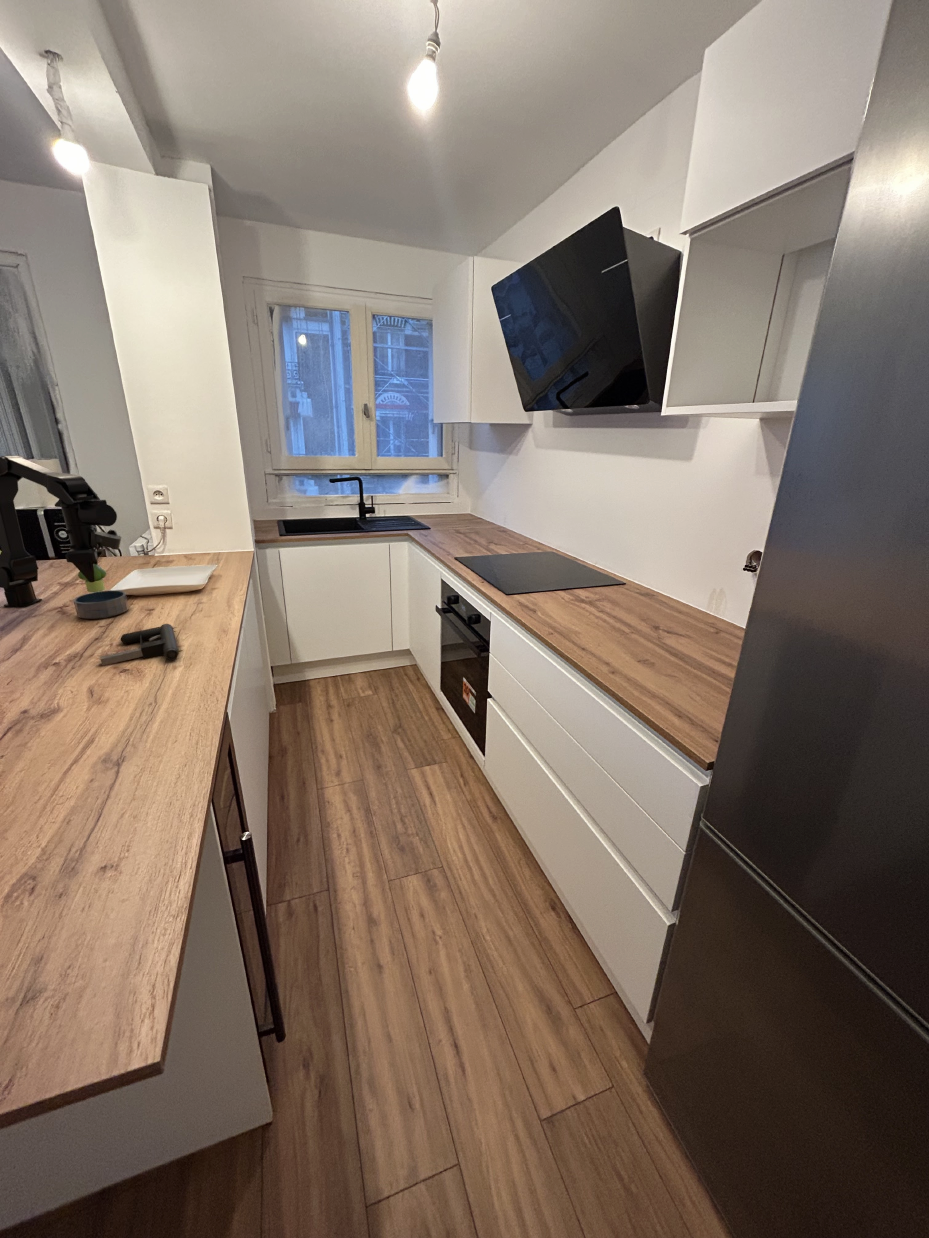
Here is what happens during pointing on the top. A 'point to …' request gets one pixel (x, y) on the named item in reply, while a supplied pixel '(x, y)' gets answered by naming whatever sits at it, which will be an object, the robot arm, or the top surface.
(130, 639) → the door handle
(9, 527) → the robot arm
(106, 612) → the bowl
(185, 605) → the top surface
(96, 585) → the broccoli
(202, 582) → the square plate
